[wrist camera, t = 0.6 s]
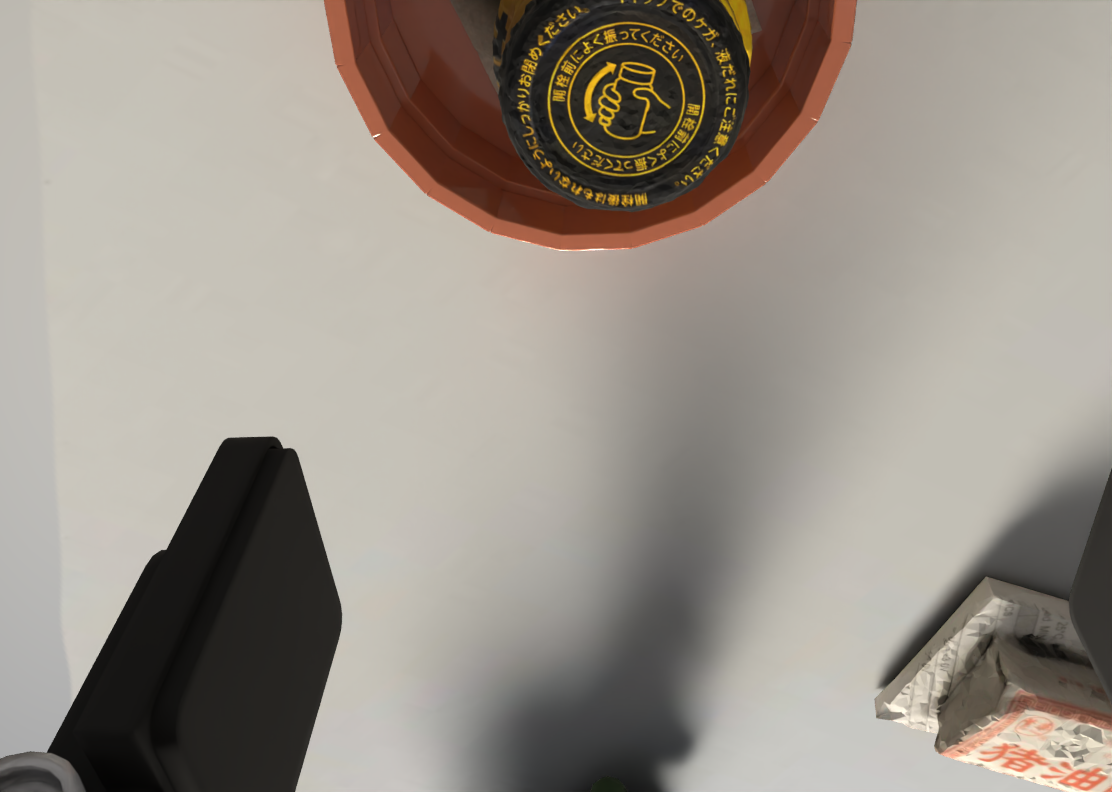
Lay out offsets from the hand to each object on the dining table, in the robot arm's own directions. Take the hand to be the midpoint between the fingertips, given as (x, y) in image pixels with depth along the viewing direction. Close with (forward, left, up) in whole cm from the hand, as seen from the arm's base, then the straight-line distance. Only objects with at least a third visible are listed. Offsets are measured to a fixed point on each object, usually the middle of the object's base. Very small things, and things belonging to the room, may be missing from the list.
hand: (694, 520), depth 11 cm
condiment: (-1, -2, -24) cm, 24 cm away
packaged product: (+33, +21, -24) cm, 46 cm away
